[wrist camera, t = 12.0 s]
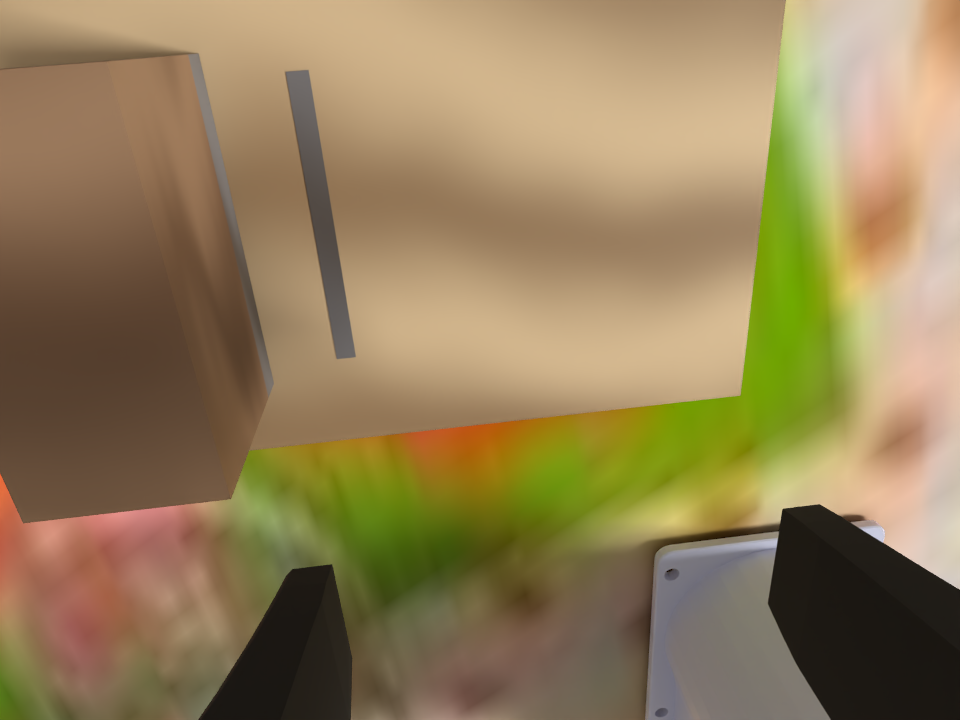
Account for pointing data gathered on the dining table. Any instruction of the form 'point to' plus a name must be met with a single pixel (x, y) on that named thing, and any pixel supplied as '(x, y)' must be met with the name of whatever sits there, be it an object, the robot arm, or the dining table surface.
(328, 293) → the pine board
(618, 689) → the dining table surface
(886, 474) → the dining table surface
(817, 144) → the dining table surface
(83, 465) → the block
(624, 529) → the dining table surface
